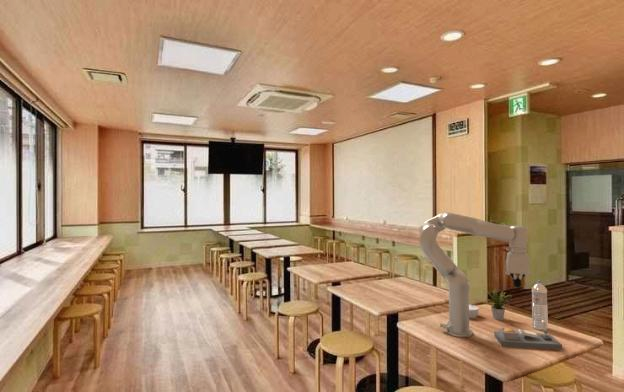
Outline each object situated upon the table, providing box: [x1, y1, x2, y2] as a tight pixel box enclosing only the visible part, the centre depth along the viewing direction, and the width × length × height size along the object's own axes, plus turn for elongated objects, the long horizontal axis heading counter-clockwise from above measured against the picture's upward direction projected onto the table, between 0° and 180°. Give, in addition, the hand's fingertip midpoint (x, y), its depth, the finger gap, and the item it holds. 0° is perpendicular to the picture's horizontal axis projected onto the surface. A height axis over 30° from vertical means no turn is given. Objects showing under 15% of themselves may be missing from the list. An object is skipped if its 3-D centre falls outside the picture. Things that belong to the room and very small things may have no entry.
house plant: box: [485, 289, 511, 321], centre depth 198 cm, size 14×14×16 cm
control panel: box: [493, 327, 563, 351], centre depth 167 cm, size 25×12×6 cm, turn 78°
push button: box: [504, 327, 514, 333], centre depth 169 cm, size 4×4×3 cm
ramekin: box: [469, 303, 480, 319], centre depth 205 cm, size 11×11×5 cm
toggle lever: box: [541, 320, 549, 336], centre depth 165 cm, size 2×2×8 cm
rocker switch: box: [517, 328, 538, 338], centre depth 167 cm, size 7×4×1 cm, turn 78°
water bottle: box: [531, 280, 549, 331], centre depth 184 cm, size 7×7×25 cm
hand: (516, 286), depth 176 cm, fingers closed
